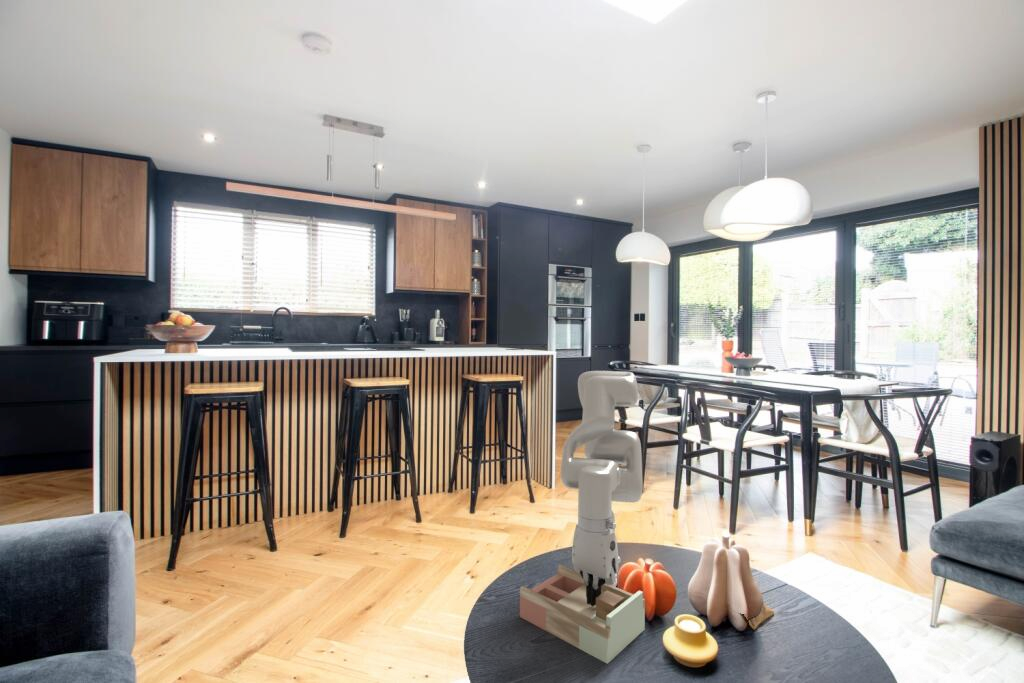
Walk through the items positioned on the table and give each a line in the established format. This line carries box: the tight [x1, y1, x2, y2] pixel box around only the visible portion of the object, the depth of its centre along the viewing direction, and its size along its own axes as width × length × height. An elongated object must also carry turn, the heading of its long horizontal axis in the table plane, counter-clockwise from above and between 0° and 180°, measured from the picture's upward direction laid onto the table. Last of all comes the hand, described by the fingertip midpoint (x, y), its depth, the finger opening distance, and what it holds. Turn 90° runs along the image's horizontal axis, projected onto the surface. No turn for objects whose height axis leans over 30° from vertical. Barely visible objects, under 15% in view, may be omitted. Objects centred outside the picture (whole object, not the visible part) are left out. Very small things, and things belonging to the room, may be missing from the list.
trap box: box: [519, 564, 646, 665], centre depth 112 cm, size 16×24×9 cm, turn 47°
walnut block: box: [596, 591, 624, 621], centre depth 106 cm, size 4×4×4 cm
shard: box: [748, 604, 775, 630], centre depth 116 cm, size 11×8×2 cm
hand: (593, 602), depth 109 cm, fingers closed
